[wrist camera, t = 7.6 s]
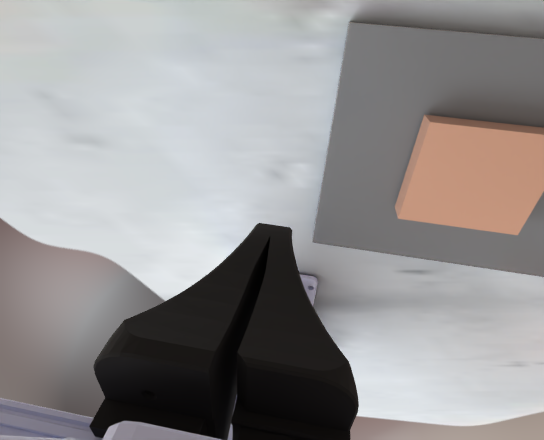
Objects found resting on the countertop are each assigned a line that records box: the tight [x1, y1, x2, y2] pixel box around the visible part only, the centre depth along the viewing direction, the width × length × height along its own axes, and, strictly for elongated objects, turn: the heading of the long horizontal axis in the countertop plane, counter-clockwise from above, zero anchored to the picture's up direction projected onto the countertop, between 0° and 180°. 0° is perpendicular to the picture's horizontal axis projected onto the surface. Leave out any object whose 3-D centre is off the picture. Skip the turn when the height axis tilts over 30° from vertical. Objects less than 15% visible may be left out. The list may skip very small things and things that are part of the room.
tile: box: [395, 115, 544, 235], centre depth 19 cm, size 6×2×7 cm
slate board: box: [313, 22, 544, 277], centre depth 20 cm, size 14×18×1 cm
